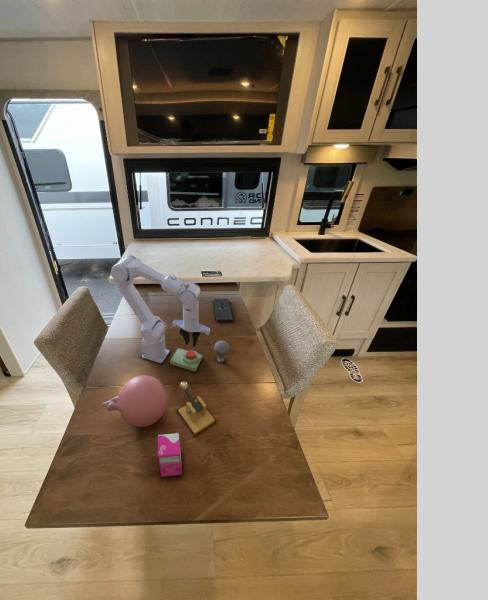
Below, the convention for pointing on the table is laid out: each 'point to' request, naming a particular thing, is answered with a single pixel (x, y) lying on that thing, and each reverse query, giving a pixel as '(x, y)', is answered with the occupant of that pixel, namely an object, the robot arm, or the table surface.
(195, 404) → the lever
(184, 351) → the button block
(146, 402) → the balloon
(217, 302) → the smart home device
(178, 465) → the supplement box
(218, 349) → the light bulb
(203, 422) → the switch bracket
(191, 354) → the button
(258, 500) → the table surface
